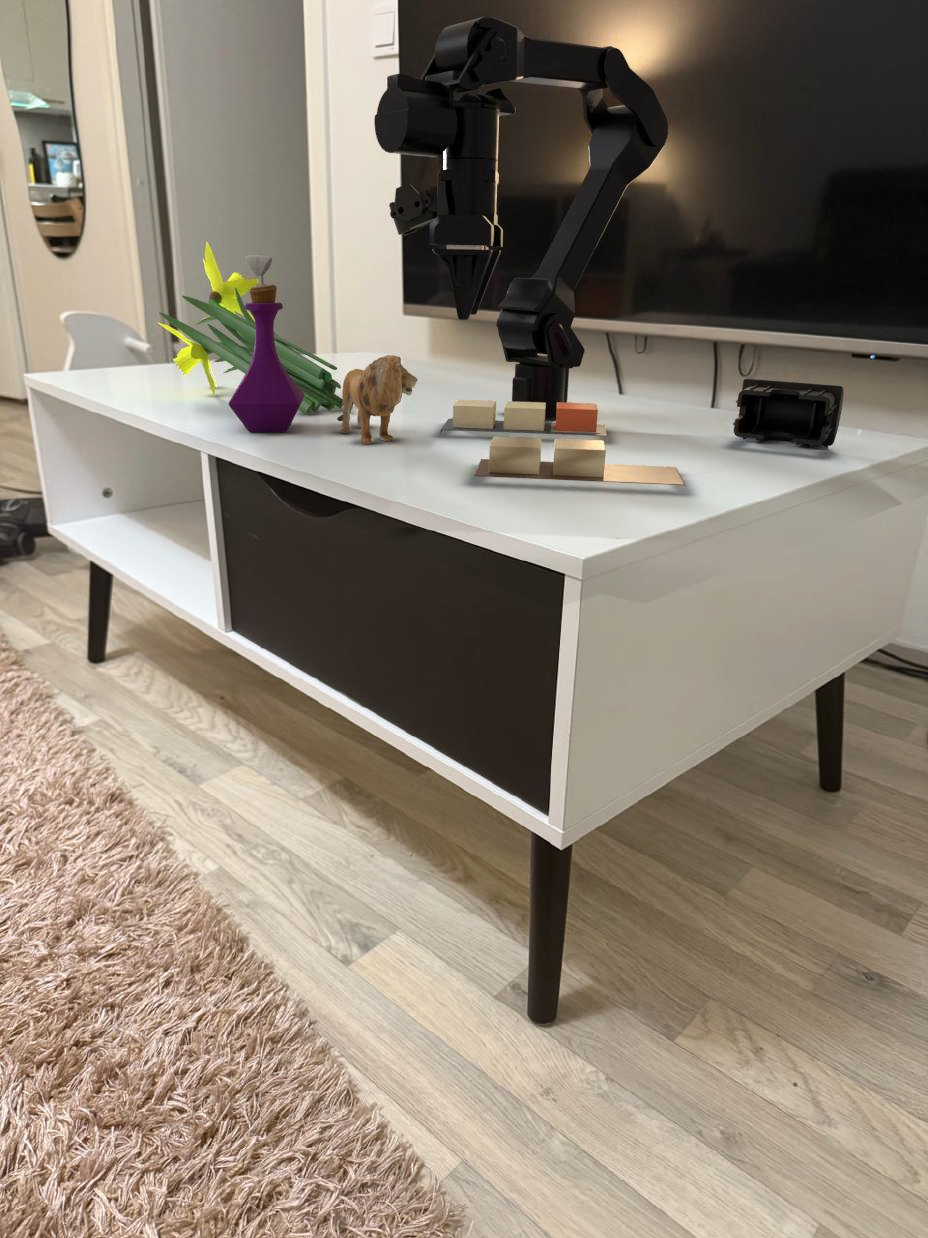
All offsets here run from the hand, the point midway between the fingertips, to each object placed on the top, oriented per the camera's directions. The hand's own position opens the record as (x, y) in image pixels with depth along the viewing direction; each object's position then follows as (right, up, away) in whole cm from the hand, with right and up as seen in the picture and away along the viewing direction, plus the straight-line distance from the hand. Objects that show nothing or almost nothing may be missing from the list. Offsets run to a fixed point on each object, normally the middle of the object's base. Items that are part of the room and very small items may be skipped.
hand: (467, 316), depth 101 cm
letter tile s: (+12, -13, -1) cm, 17 cm away
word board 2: (+10, -21, -20) cm, 31 cm away
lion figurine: (-10, -14, -3) cm, 18 cm away
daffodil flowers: (-28, -4, +21) cm, 35 cm away
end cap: (+34, -16, -4) cm, 37 cm away
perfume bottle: (-22, -13, 0) cm, 26 cm away
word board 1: (+6, -13, 0) cm, 15 cm away
